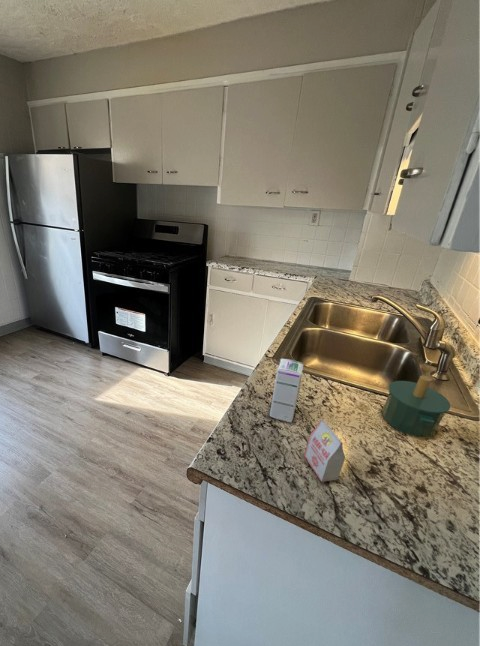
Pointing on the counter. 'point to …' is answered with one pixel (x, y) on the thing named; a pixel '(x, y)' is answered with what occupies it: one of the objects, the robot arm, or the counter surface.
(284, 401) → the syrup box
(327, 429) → the white gable carton
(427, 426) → the pot
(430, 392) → the lid
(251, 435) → the counter surface
